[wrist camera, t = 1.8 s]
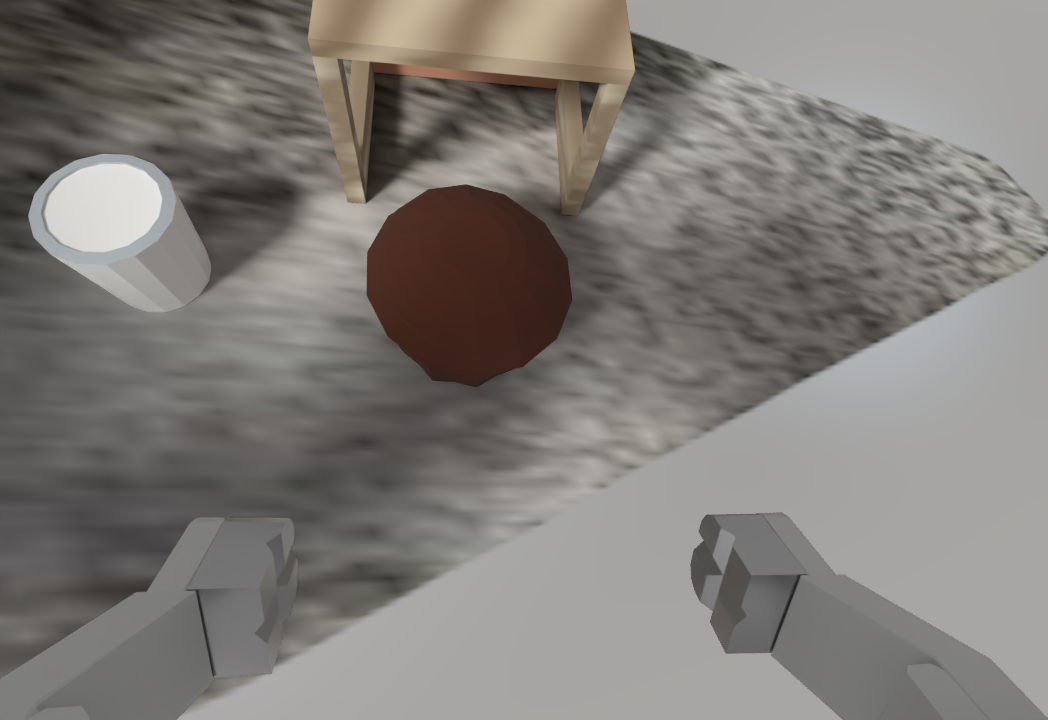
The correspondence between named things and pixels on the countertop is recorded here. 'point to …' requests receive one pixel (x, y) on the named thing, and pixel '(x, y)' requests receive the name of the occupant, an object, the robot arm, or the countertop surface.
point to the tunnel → (476, 66)
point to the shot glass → (122, 231)
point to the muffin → (468, 283)
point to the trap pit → (464, 75)
